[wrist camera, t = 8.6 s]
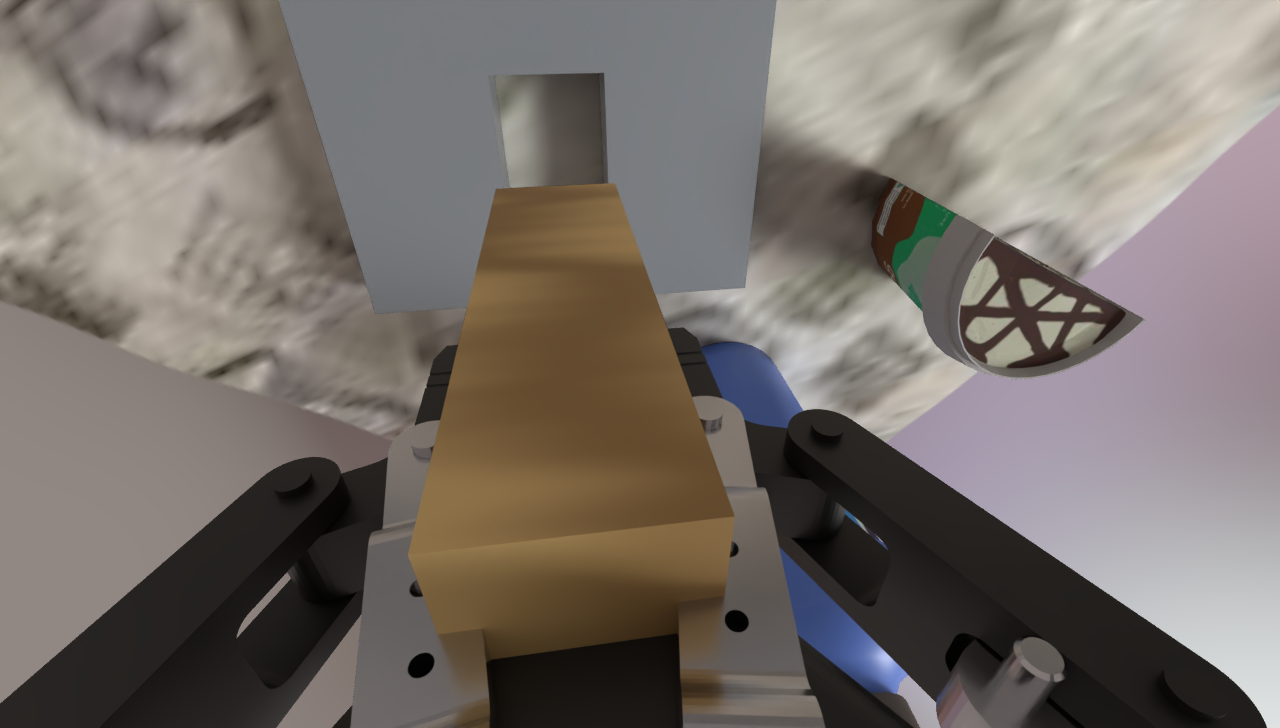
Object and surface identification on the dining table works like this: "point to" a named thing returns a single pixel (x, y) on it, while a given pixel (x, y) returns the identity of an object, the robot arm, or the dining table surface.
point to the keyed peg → (567, 443)
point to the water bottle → (817, 616)
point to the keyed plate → (472, 135)
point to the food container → (990, 292)
